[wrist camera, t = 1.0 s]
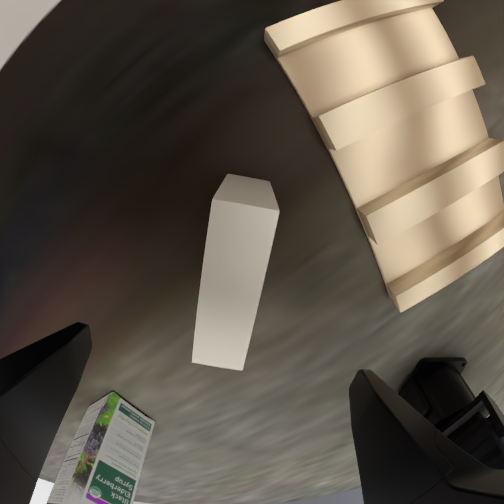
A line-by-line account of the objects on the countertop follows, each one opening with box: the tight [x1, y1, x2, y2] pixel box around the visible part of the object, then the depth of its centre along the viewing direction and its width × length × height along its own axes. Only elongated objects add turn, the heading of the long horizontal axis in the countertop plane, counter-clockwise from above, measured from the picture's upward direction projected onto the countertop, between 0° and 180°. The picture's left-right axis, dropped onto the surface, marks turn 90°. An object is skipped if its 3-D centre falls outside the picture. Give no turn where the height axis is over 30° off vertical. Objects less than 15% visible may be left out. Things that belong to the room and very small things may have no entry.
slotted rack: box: [264, 0, 504, 312], centre depth 15 cm, size 12×19×2 cm, turn 29°
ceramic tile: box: [192, 174, 280, 371], centre depth 16 cm, size 2×8×7 cm, turn 170°
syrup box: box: [47, 392, 155, 504], centre depth 19 cm, size 6×6×14 cm
